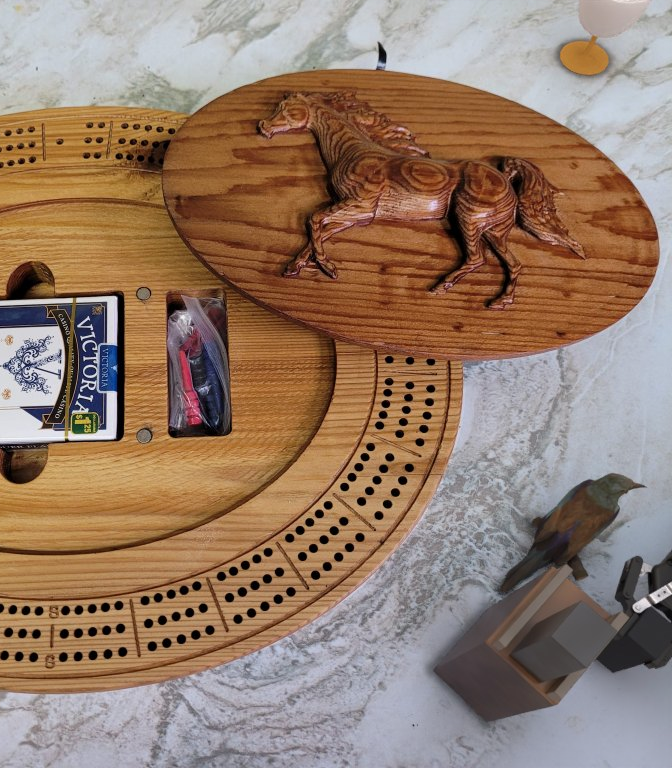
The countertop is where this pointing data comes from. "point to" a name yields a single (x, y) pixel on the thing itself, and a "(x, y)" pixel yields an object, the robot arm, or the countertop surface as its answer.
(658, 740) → the countertop surface
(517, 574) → the bird figurine
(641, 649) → the back pad
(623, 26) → the cup
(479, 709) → the pedestal
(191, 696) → the countertop surface
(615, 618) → the pad mount
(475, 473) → the countertop surface
